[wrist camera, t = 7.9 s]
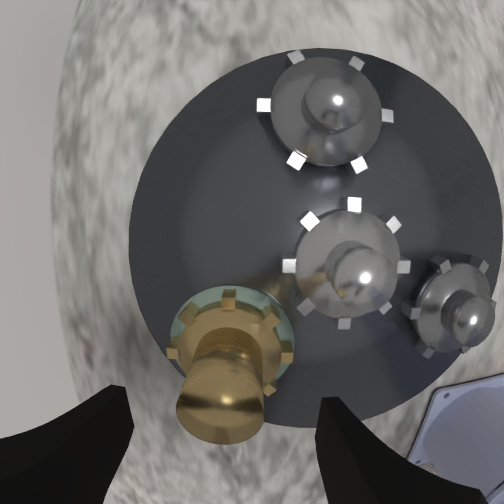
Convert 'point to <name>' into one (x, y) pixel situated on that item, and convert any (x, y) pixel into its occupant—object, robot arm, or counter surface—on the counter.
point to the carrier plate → (324, 225)
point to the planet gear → (227, 367)
